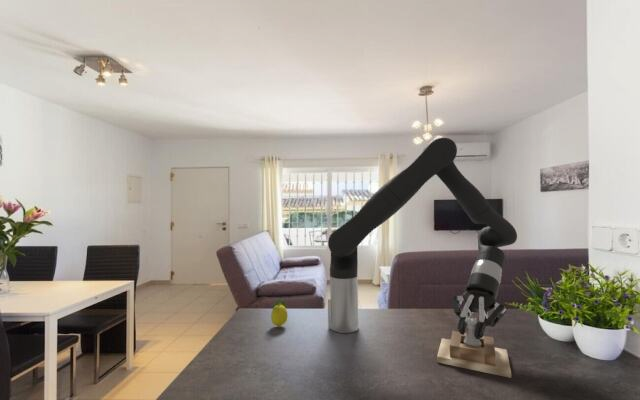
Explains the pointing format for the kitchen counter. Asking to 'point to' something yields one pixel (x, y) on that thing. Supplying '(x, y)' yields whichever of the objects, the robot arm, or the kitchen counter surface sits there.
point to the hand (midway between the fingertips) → (469, 335)
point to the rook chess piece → (471, 332)
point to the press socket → (474, 355)
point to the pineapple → (279, 314)
